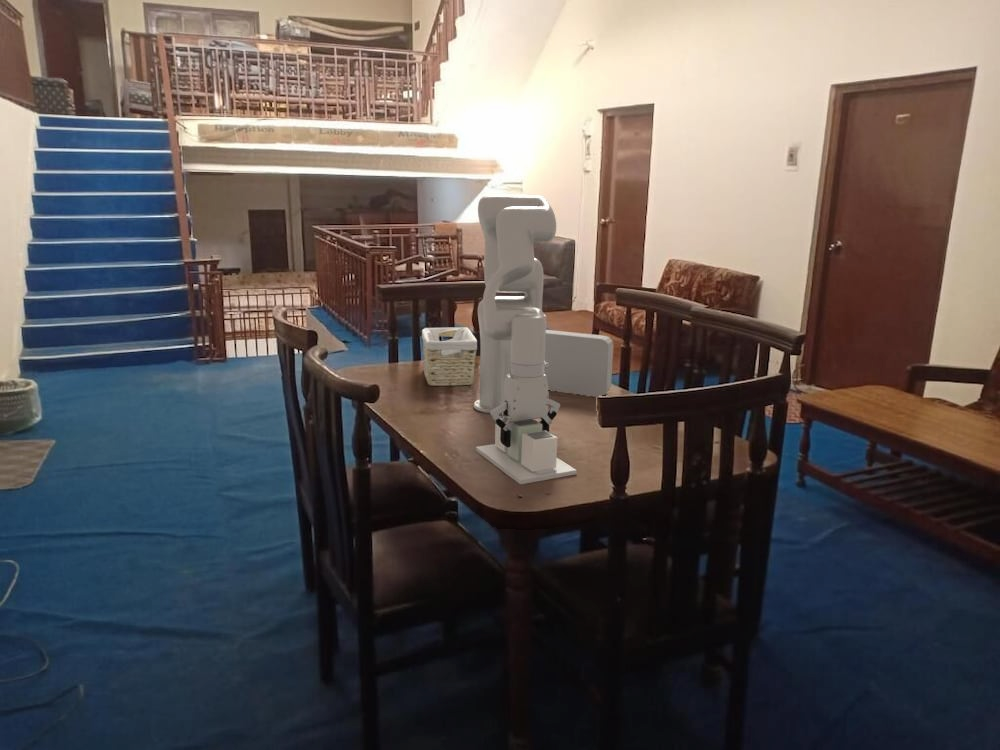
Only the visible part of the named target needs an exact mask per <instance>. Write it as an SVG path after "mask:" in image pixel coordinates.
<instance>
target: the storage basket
mask: <svg viewBox="0 0 1000 750" xmlns="http://www.w3.org/2000/svg"><path fill="white" fill-rule="evenodd" d="M440 337H448V338H450V337H451V338H450V339H447V340H442V341H441V340H440ZM421 338H422V339H421V340H423V341H422V344H423V347H422V348H423V349H422V351H423V353H422V355H423V374H424V376H425V379H426V381H427V382H426V383H427V385H429V386H432V387H433V386H439V387H441V386H444V387H446V386H447V387H448V386H452V387H455V386H470V385H471V386H472V384H473V383H474V376H475V366H476V365H475V363H476V355H477V350H478V340H477V338H476V337H475V335H474V334H473V333H472V331H471V330H470V329H469V327H465V326H462V327H424V328H423V329H422V330H421Z"/></svg>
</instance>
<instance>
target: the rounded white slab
mask: <svg viewBox="0 0 1000 750" xmlns="http://www.w3.org/2000/svg"><path fill="white" fill-rule="evenodd" d="M613 360H614V341H613V340H612V338H611V337H610V336H607V335H600V334H591V333H584V332H583V333H582V332H571V331H562V330H555V329H554V330H553V329H546V334H545V362H548V364H549V367H548V368H546V369H545V373H544V374H545V375H546V378H547V383H548V390H550V391H549V392H554V391H557V392H556V393H561V392H564V393H563V394H568V393H573V394H572V395H576V394H582V395H581V396H583V395H589V396H588V397H591V396H593V397H592V398H598V397H597V396H599V395H604V396H605V395H606V394H607V393H608V392H609V391H610V390H611V387H612V378H613V377H612V375H613V373H612V372H613ZM594 396H595V397H594Z"/></svg>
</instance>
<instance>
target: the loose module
mask: <svg viewBox="0 0 1000 750" xmlns="http://www.w3.org/2000/svg"><path fill="white" fill-rule="evenodd" d="M539 422H540V421H538V420H536V419H531V420H524V421H516V422H515V421H514V422H513V424H512V425H511V426H510V428H509V430H510V431H511V446H510V447H508V452H507V454H508V455H509V456H511V457H512V458H513V459H515V460H516V461H521V455H522V434H525V433H532V432H538V431H542V424H541V423H539Z"/></svg>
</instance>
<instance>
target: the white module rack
mask: <svg viewBox="0 0 1000 750" xmlns="http://www.w3.org/2000/svg"><path fill="white" fill-rule="evenodd" d="M499 417H500V420H502V419H503V417H504V416H503V415H501V416H500V415H499ZM494 423H495V422H494ZM494 429H495V430H494V443H493V444H487V445H480V446H475V452H476V453H478V454H479V455H481V456H482V457H483V458H484V459H486V460H487V461H489V462H490V463H492V465H494V466H495V467H496V468H498V469H499V470H501V471H502V472H503V473H505V475H507V476H509V477H510V479H512V480H513V481H515V482H516V483H518V485H525V484H530V483H532V484H533V483H536V482H537V483H538V482H542V481H547V480H553V479H558V478H562V477H564V478H565V477H568V476H573V475H577V469H575V468H574V467H572V466H571V465H569V464H567V463H566V462H565V461H563V460H561V459H560V458H558V453H557V452H558V436H556V435H554V434H552V433H551V432H550V431H549V432H548V431H546V430H545V431H538V432H532V433H525V434H522V455H521V461H516V460H515V459H513V458H512V457H511V456H509V455H508V454H507V452H508V448H507V447H506V446H504V445H503V444H502V443H501V441H500V433H501V428H500V427H499V426H498V425H497V424H496V423H495V425H494Z"/></svg>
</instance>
